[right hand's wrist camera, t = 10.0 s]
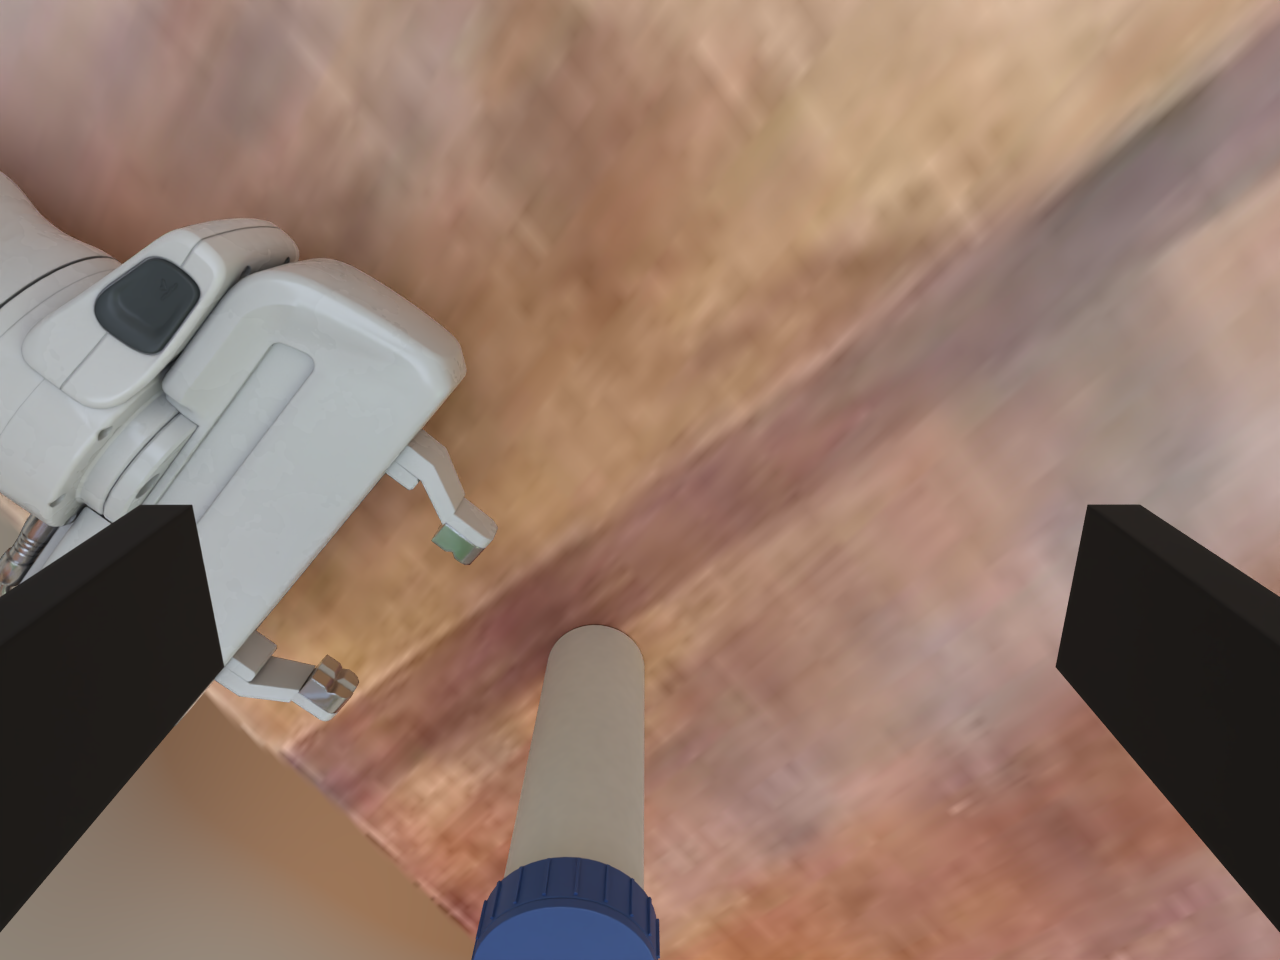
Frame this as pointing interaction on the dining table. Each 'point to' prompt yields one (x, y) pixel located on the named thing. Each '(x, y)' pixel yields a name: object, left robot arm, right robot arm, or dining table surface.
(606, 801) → the jar
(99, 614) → the right robot arm
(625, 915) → the lid
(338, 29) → the dining table surface
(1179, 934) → the dining table surface
